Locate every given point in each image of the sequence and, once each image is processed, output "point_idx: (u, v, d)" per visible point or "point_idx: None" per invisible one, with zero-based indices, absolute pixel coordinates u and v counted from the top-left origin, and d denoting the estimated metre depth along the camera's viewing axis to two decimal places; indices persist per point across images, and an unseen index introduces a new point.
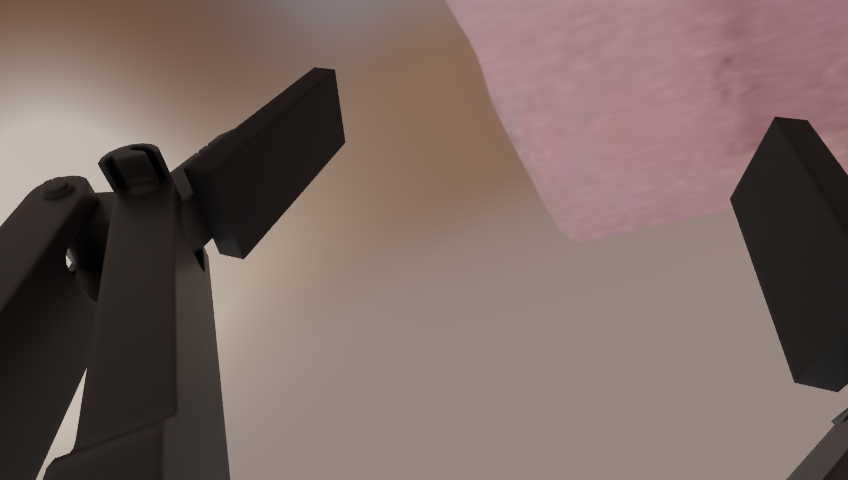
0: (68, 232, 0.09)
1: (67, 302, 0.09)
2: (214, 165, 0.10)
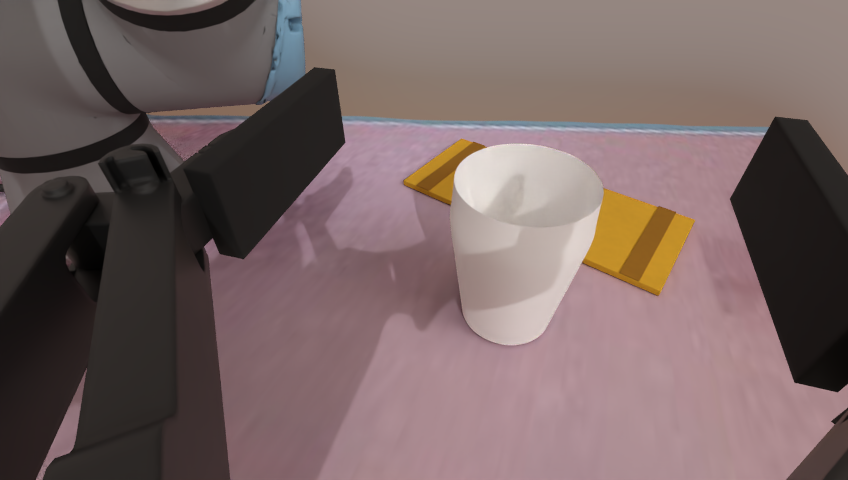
0: (68, 232, 0.09)
1: (67, 302, 0.09)
2: (214, 165, 0.10)
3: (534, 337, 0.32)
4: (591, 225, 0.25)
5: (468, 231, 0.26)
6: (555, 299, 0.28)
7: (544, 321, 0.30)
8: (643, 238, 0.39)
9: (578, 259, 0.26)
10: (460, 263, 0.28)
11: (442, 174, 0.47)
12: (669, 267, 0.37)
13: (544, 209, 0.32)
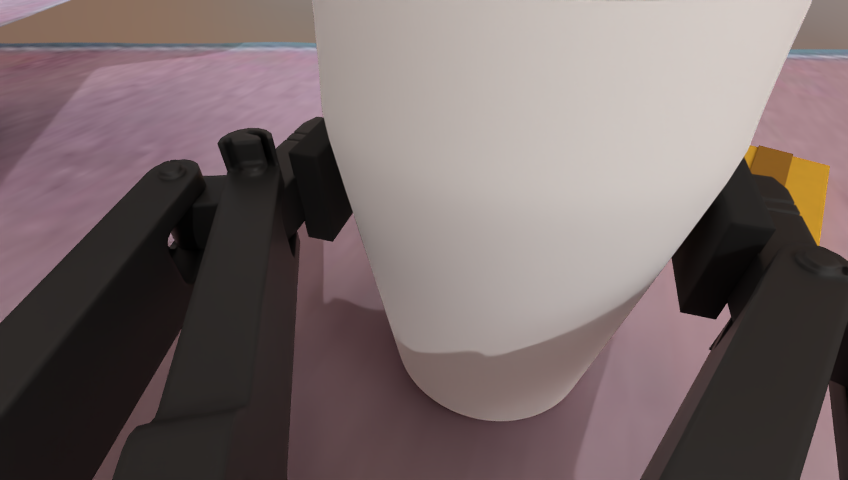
0: (173, 215, 0.10)
1: (162, 283, 0.09)
2: (317, 149, 0.11)
3: (554, 402, 0.14)
4: (787, 51, 0.07)
5: (345, 90, 0.07)
6: (619, 317, 0.10)
7: (581, 370, 0.12)
8: None
9: (718, 189, 0.08)
10: (356, 218, 0.10)
11: None
12: None
13: None
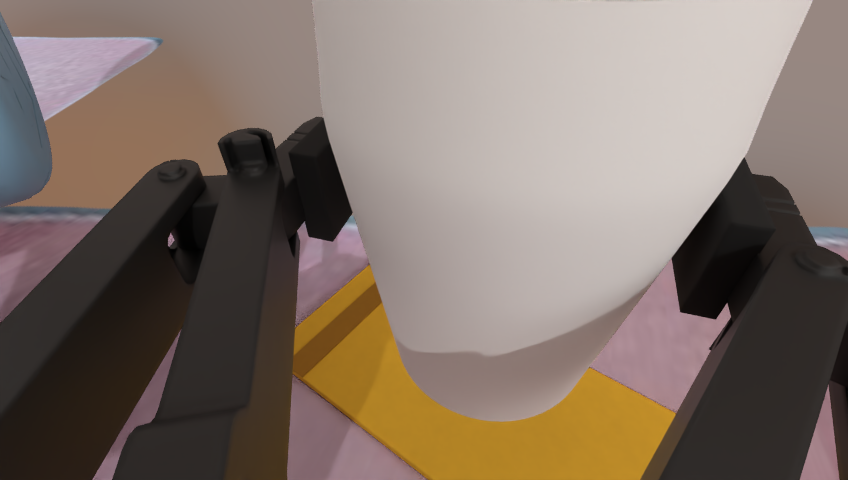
0: (173, 216, 0.10)
1: (162, 283, 0.09)
2: (317, 149, 0.11)
3: (554, 403, 0.14)
4: (787, 52, 0.07)
5: (344, 91, 0.07)
6: (619, 318, 0.10)
7: (581, 370, 0.12)
8: None
9: (718, 189, 0.08)
10: (356, 219, 0.10)
11: (333, 337, 0.29)
12: None
13: None
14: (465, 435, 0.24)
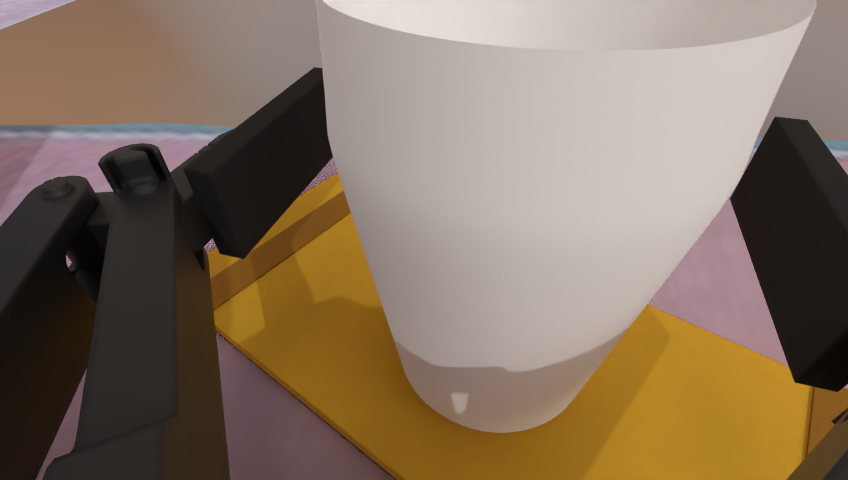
0: (68, 232, 0.09)
1: (67, 302, 0.09)
2: (214, 165, 0.10)
3: (554, 414, 0.14)
4: (777, 87, 0.07)
5: (351, 122, 0.08)
6: (617, 335, 0.11)
7: (581, 383, 0.12)
8: None
9: (712, 215, 0.08)
10: (361, 238, 0.11)
11: (261, 264, 0.20)
12: None
13: None
14: None
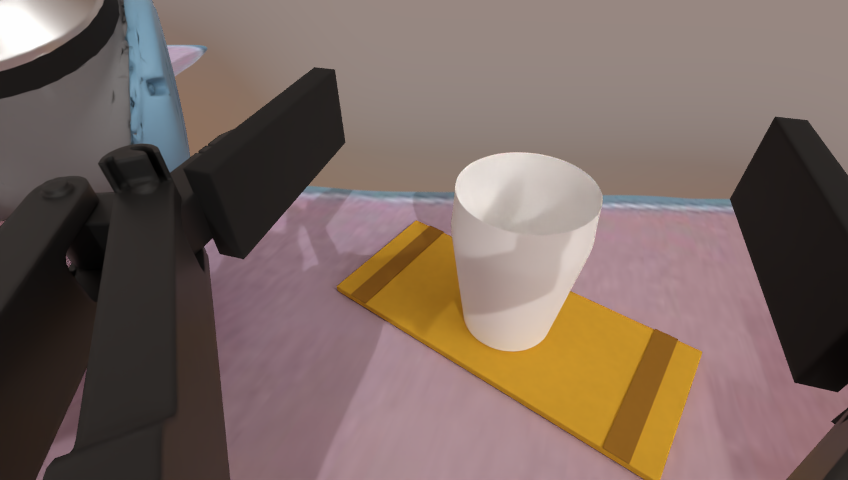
0: (68, 232, 0.09)
1: (67, 302, 0.09)
2: (214, 165, 0.10)
3: (535, 343, 0.32)
4: (590, 232, 0.25)
5: (469, 239, 0.26)
6: (556, 305, 0.29)
7: (545, 327, 0.31)
8: (635, 385, 0.30)
9: (578, 266, 0.26)
10: (461, 270, 0.29)
11: (385, 277, 0.38)
12: (670, 438, 0.27)
13: (544, 216, 0.33)
14: None
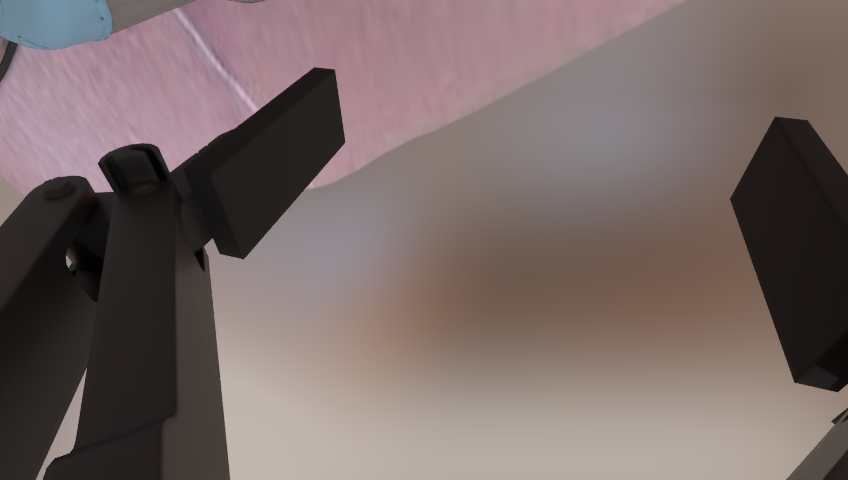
0: (68, 232, 0.09)
1: (67, 302, 0.09)
2: (214, 165, 0.10)
3: None
4: None
5: None
6: None
7: None
8: None
9: None
10: None
11: None
12: None
13: None
14: None
